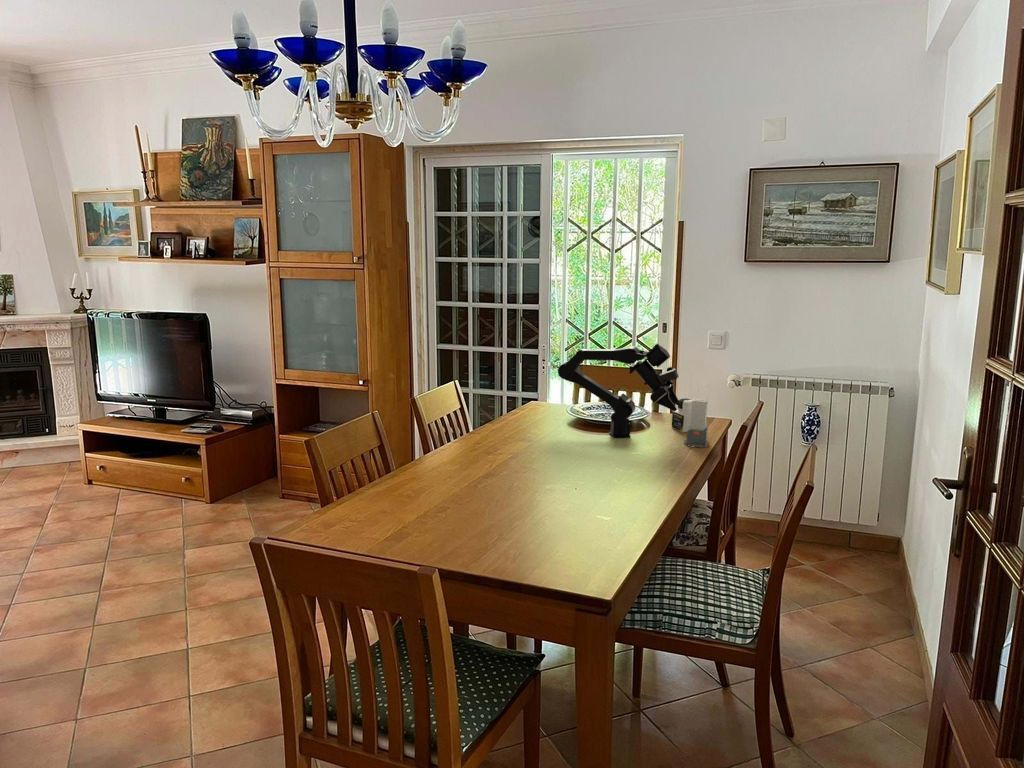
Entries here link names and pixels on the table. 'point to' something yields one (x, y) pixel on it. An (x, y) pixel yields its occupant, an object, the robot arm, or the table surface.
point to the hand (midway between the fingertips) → (677, 407)
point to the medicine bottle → (682, 415)
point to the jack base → (697, 438)
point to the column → (698, 414)
